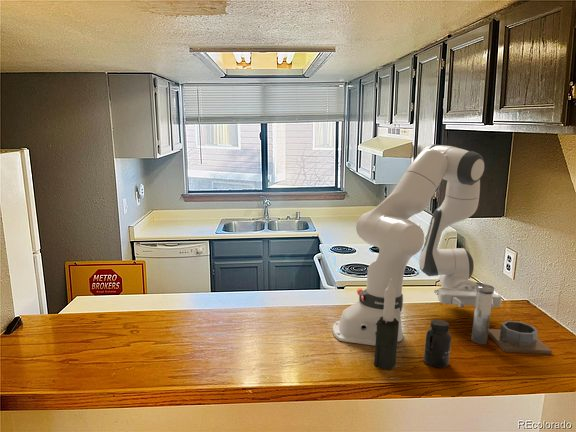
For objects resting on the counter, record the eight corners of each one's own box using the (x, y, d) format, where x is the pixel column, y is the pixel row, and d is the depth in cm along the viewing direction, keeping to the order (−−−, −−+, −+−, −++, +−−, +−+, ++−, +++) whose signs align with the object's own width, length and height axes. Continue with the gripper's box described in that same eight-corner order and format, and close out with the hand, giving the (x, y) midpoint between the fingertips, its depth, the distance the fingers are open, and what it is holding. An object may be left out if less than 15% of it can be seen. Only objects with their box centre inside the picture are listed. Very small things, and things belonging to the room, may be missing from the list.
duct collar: (504, 351, 137) (506, 335, 136) (486, 332, 150) (488, 317, 150) (551, 354, 136) (554, 338, 135) (529, 334, 150) (531, 319, 149)
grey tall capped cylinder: (473, 343, 141) (480, 289, 138) (468, 336, 146) (474, 283, 143) (490, 344, 141) (496, 289, 138) (484, 337, 146) (490, 284, 143)
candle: (396, 363, 127) (403, 278, 123) (390, 371, 123) (397, 283, 118) (379, 358, 130) (385, 274, 125) (372, 365, 125) (379, 279, 121)
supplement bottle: (450, 369, 125) (454, 329, 123) (424, 366, 126) (428, 326, 124) (446, 358, 131) (450, 319, 129) (422, 355, 133) (426, 316, 130)
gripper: (433, 281, 160) (445, 294, 146) (492, 284, 159) (509, 298, 146) (431, 298, 161) (443, 313, 147) (490, 301, 160) (507, 316, 147)
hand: (476, 305), depth 146 cm, fingers open, 8 cm apart
